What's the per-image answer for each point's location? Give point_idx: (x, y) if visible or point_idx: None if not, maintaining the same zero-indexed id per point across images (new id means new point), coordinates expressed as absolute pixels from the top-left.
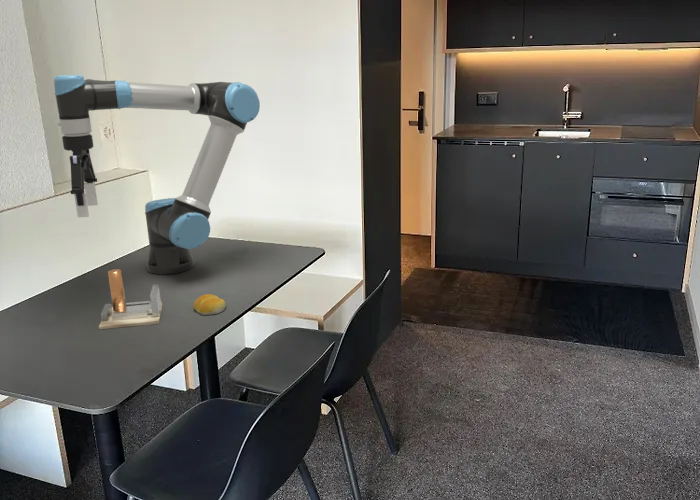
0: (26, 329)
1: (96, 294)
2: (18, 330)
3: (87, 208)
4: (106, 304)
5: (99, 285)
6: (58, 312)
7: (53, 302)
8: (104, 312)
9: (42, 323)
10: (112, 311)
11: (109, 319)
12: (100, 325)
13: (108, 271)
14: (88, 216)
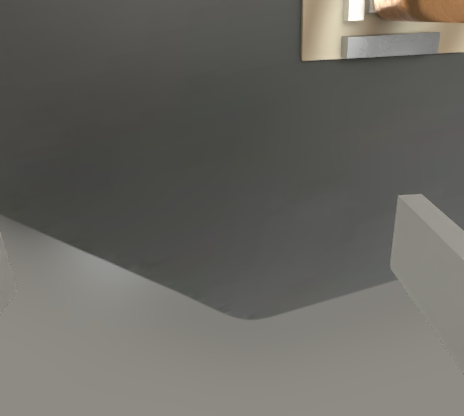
0: (385, 243)
1: (160, 126)
2: (385, 259)
3: (442, 225)
4: (351, 53)
5: (75, 136)
6: (289, 199)
7: (208, 233)
8: (423, 44)
9: (358, 218)
10: (352, 33)
11: (418, 29)
12: (457, 48)
13: (461, 21)
14: (419, 194)
